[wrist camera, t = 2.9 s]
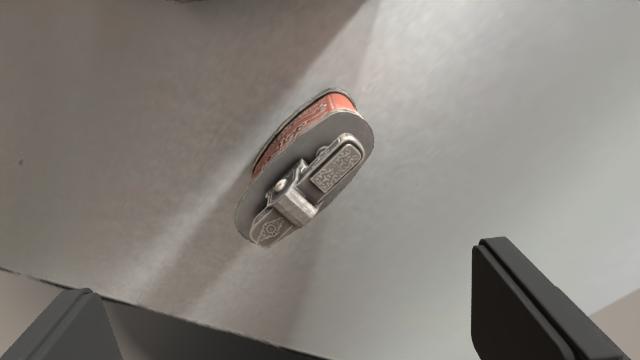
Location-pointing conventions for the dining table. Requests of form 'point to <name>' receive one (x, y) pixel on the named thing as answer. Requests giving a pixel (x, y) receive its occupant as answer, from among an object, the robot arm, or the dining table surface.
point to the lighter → (303, 167)
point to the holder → (184, 1)
